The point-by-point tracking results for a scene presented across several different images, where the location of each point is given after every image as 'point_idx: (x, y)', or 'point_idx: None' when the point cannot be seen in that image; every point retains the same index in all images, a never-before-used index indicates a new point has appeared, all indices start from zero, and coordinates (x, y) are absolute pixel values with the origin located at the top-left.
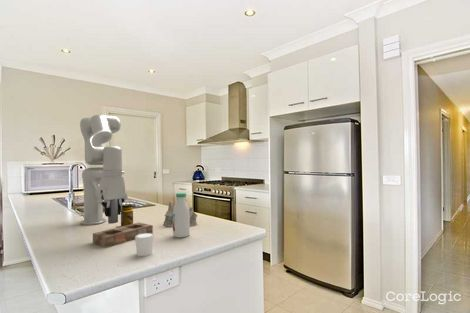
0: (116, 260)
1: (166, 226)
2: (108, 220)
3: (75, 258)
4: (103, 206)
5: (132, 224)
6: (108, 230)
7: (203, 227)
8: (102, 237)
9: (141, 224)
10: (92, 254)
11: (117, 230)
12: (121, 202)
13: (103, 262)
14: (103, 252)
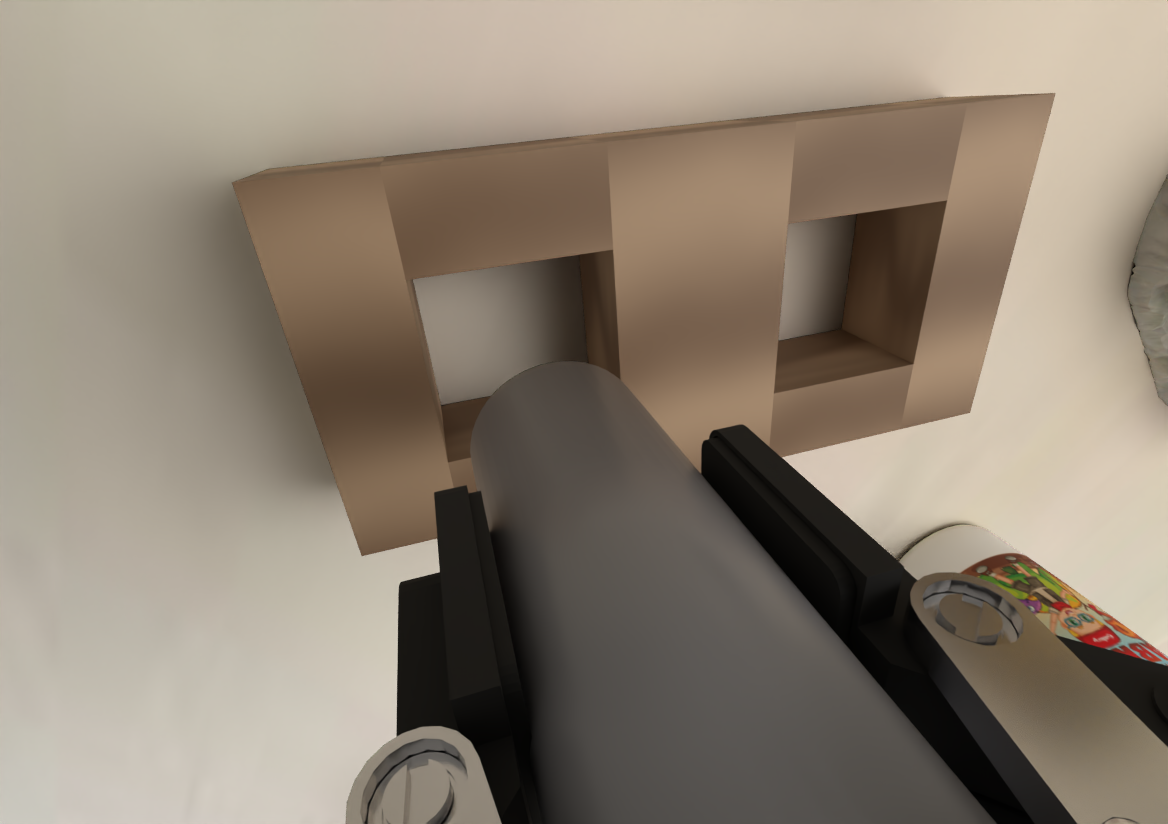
0: (341, 780)
1: (1144, 239)
2: (477, 484)
3: (3, 606)
4: (354, 801)
5: (928, 146)
6: (519, 205)
7: (1153, 501)
8: (335, 470)
9: (967, 261)
10: (192, 592)
11: (615, 309)
12: (990, 809)
13: (247, 777)
14: (302, 597)
